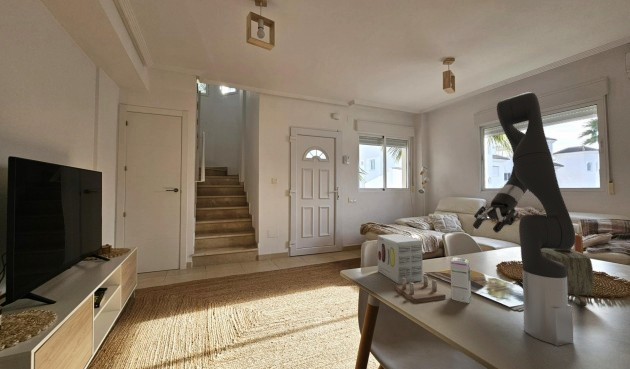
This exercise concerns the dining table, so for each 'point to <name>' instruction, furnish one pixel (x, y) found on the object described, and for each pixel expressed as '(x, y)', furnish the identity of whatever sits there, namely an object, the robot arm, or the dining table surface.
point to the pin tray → (420, 291)
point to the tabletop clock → (574, 270)
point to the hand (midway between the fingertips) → (484, 229)
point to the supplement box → (400, 257)
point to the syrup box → (460, 279)
